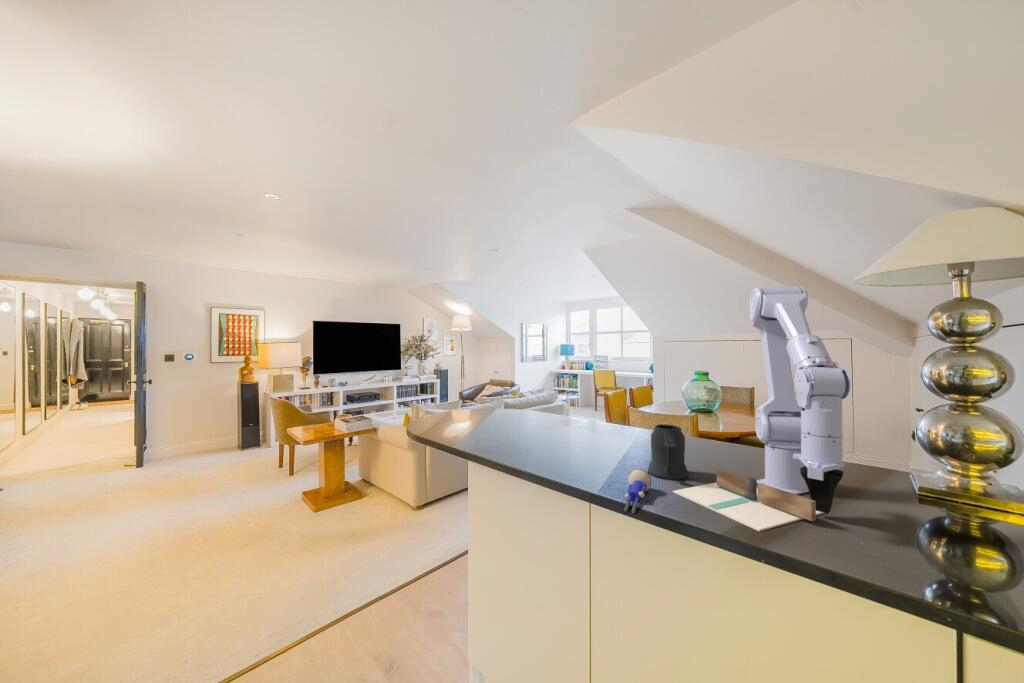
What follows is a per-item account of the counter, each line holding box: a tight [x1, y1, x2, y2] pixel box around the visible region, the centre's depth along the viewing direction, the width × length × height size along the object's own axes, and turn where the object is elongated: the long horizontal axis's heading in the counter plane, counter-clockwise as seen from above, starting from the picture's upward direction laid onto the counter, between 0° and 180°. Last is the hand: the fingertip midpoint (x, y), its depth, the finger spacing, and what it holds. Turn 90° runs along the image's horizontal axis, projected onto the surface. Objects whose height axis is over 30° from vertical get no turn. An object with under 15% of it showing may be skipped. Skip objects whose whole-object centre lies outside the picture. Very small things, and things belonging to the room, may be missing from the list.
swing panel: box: [757, 483, 817, 522], centre depth 68 cm, size 9×1×3 cm, turn 23°
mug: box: [647, 423, 689, 482], centre depth 88 cm, size 12×9×11 cm
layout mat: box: [672, 481, 825, 532], centre depth 73 cm, size 18×18×1 cm
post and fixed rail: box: [716, 468, 758, 500], centre depth 77 cm, size 2×8×4 cm, turn 23°
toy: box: [624, 468, 653, 515], centre depth 75 cm, size 5×5×15 cm
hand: (821, 510), depth 67 cm, fingers closed
